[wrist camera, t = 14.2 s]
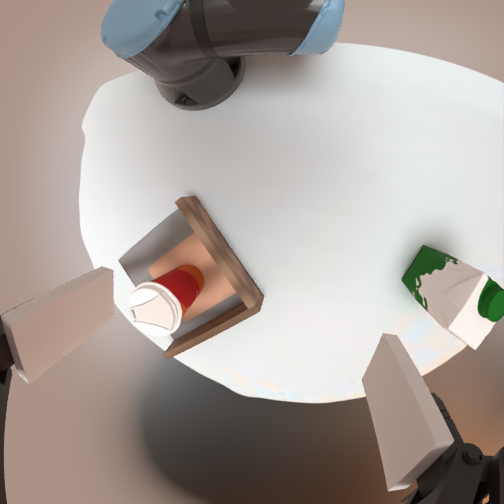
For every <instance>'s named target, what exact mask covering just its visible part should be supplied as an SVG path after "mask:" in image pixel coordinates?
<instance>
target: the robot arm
mask: <svg viewBox="0 0 504 504" xmlns="http://www.w3.org/2000/svg"><path fill="white" fill-rule="evenodd" d="M344 3H345V2H344V0H114V1H113V3H112V4H111V5H110V7H109V9H108V10H107V12H106V14H105V16H104V18H103V21H102V25H101V38H102V40H103V42H104V44H105V45H106V46H107V47H108V48H110V49H111V50H112V51H114V52H115V54H116V55H117V56H118V57H120V58H122V59H124V60H126V61H127V62H129V63H131V64H132V65H134V66H135V67H137V68H139V69H140V70H142V71H143V72H145V73H146V74H148V75H150V76H151V77H153V78H154V80H155V82H156V84H157V87H158V89H159V91H160V93H161V95H162V96H163V97H164V98H165V99H166V100H167V101H168V102H170V103H171V104H173V105H175V106H176V107H178V108H181V109H185V110H203V109H207V108H210V107H213V106H215V105H217V104H219V103H221V102H222V101H224V100H225V99H227V98H228V97H229V96H230V95H231V94H232V93H233V92H234V91H235V90H236V89H237V87H238V86H239V84H240V82H241V80H242V78H243V75H244V68H245V65H244V59H243V56H244V55H265V54H287V55H288V56H294V55H296V54H322V53H324V52H326V51H328V50H329V49H330V48H331V47H332V46H333V44H334V42H335V41H336V38H337V36H338V33H339V30H340V26H341V22H342V18H343V12H344ZM113 318H114V299H113V270H111V269H108V268H105V267H100V268H98V269H95V270H93V271H91V272H89V273H87V274H84V275H82V276H80V277H78V278H76V279H73V280H71V281H69V282H67V283H65V284H63V285H61V286H59V287H56V288H54V289H52V290H50V291H48V292H46V293H44V294H42V295H40V296H38V297H36V298H33V299H31V300H29V301H27V302H26V303H23V304H21V305H20V306H17V307H15V308H13V309H12V310H10V311H8V312H6V313H4V314H2V315H0V504H7V500H6V492H5V481H4V431H5V418H6V409H7V400H8V394H9V388H10V382H11V377H12V370H11V366H12V365H13V364H15V366H16V369H17V372H18V374H19V376H20V377H22V378H23V379H24V380H25V381H26V382H27V383H29V384H30V383H32V382H33V381H34V380H35V379H36V378H38V377H39V376H40V375H41V374H43V373H44V372H45V371H46V370H48V369H49V368H50V367H51V366H53V365H54V364H55V363H56V362H58V361H59V360H60V359H62V358H63V357H64V356H65V355H67V354H68V353H69V352H70V351H72V350H73V349H74V348H75V347H77V346H78V345H79V344H81V343H82V342H83V341H85V340H86V339H87V338H89V337H90V336H91V335H92V334H94V333H95V332H96V331H98V330H99V329H100V328H101V327H103V326H104V325H106V324H107V323H108V322H109V321H111V320H112V319H113ZM362 382H363V386H364V389H365V393H366V397H367V400H368V404H369V407H370V411H371V415H372V419H373V423H374V427H375V431H376V436H377V440H378V444H379V449H380V453H381V458H382V462H383V467H384V472H385V477H386V483H387V488H388V491H392V490H399V489H405V488H407V487H408V486H410V485H411V484H412V483H413V482H414V481H415V480H417V484H418V487H417V488H415V489H414V490H413V491H412V492H410V493H409V494H408V495H407V496H405V497H404V498H403V499H402V500H401V502H404V501H405V500H406V499H408V500H407V502H406V503H405V504H482V501H483V499H484V498H486V497H487V496H488V495H489V501H488V502H487V503H486V504H504V447H503V448H501V449H500V450H499V451H498V452H497V453H496V454H495V456H484V455H483V453H482V451H481V450H480V449H479V448H478V447H477V446H475V445H474V444H470V443H464V442H463V440H462V438H461V436H460V434H459V432H458V430H457V428H456V426H455V424H454V422H453V420H452V419H450V415H449V413H448V411H447V409H446V407H445V405H444V403H443V402H442V401H441V400H440V398H439V397H438V396H437V395H435V393H430V391H429V389H428V388H427V386H426V384H425V382H424V380H423V379H422V377H421V375H420V373H419V372H418V370H417V368H416V366H415V365H414V363H413V361H412V359H411V358H410V356H409V354H408V353H407V351H406V349H405V348H404V346H403V344H402V343H401V341H400V340H399V338H398V336H397V335H391V334H385V333H383V335H382V337H381V339H380V342H379V344H378V346H377V349H376V351H375V353H374V355H373V357H372V360H371V362H370V364H369V366H368V368H367V370H366V372H365V374H364V376H363V378H362Z"/></svg>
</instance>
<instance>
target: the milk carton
mask: <svg viewBox="0 0 504 504" xmlns="http://www.w3.org/2000/svg"><path fill="white" fill-rule="evenodd" d="M402 281H403V282H404V284H405V285H406V286H407V288H408V289H409V291H410V292H411V293H412V295H413V296H414V297H415V299H416V300H417V301H418V302H419V303H420V304H421V305H422V306H423V307H424V308H425V310H426V311H427V312H428V313H429V314H430V315H431V316H432V317H433V318H434V319H435V320H436V321H437V322H438V323H439V324H440V325H441V326H442V327H443V328H445V329H446V330H448V331H449V332H450V333H452V334H453V335H454V336H456V337H457V338H459V339H460V340H462V341H463V342H465V343H466V344H467V345H469V346H470V347H472V348H473V349H475V350H476V349H477V347H478V346H479V345H480V343H481V342H482V340H483V339H484V337H485V336H486V335H488V333H489V332H490V331H491V329H492V327H493V325H494V324H495V322H497V321H498V320H500V319H501V318H502V317H503V315H504V289H503V288H501V287H500V286H499V285H498V284H497V283H496V282H495V281H493V280H492V279H491V278H490V277H489V276H487V275H486V274H485V273H484V272H482V271H480V270H477V269H475V268H473V267H472V266H470V265H468V264H466V263H464V262H462V261H460V260H458V259H456V258H454V257H452V256H450V255H448V254H445V253H443V252H440V251H438V250H435V249H432V248H429V247H427V246H424V245H423V247H422V248H421V250H420V252H419V253H418V255H417V257H416V258H415V260H414V261H413V263H412V265H411V266H410V268H409V269H408V271H407V272H406V274H405V275H404V277H403V278H402Z"/></svg>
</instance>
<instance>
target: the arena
mask: <svg viewBox="0 0 504 504" xmlns="http://www.w3.org/2000/svg"><path fill="white" fill-rule="evenodd" d="M175 203H176V205H177V206H178V208H179V209H178V210H176V211H175V212H174V213H173V214H171V215H170V216H169V217H168V218H166V219H165V220H164V221H163V222H162V223H160V224H159V225H158V226H157V227H156V228H154V229H153V230H152V231H151V232H150V233H148V234H147V235H146V236H145V237H144V238H143V239H141V240H140V241H139V242H138V243H137V244H136V245H135V246H133V247H132V248H131V249H130V250H129V251H128V252H127V253H126V254H124V255H123V256H122V257H121V258H120V259H119V260H118V261H119V262H120V264H121V266H122V267H123V269H124V270H125V272H126V273H127V275H128V276H129V278H130V279H131V281H132V282H133V284H134V285H135V287H137V286H138V285H140V284H142V283H144V282H150V281H152V280H154V279H156V278H158V277H160V276H162V275H164V274H166V273H168V272H169V271H171V270H173V269H175V268H178V267H180V266H182V265H193V266H195V267H197V268H198V269H199V270H200V271H201V273H202V274H203V277H204V287H203V289H202V291H201V292H200V294H199V295H198V297H197V298H196V299H195V301H194V302H193V304H192V305H191V306H190V308H189V309H188V311H187V312H186V313H185V315H184V316H183V318H182V319H181V322H180V325H179V327H178V328H177V330H176V331H175V332H173V333H171V334H170V335H171V336H172V338H173V339H174V341H173V342H172V344H171V345H170V346H169V347H168V349H167V350H166V351H165V353H164V354H163V355H164V356H165V357H166V359H169V358H171V357H173V356H175V355H177V354H179V353H182V352H184V351H186V350H188V349H190V348H192V347H194V346H196V345H198V344H200V343H202V342H204V341H205V340H207V339H209V338H211V337H213V336H215V335H217V334H219V333H221V332H223V331H225V330H227V329H229V328H230V327H232V326H234V325H236V324H238V323H240V322H242V321H243V320H245V319H247V318H249V317H251V316H253V315H254V314H256V313H258V312H260V309H261V306H262V302H263V299H264V295H263V294H262V293H261V291H260V290H259V288H258V287H257V285H256V284H255V282H254V281H253V280H252V278H251V277H250V275H249V274H248V272H247V271H246V270H245V268H244V267H243V265H242V264H241V262H240V261H239V259H238V258H237V256H236V255H235V254H234V252H233V251H232V249H231V248H230V246H229V245H228V243H227V242H226V240H225V239H224V237H223V236H222V235H221V233H220V232H219V230H218V229H217V227H216V226H215V224H214V223H213V221H212V220H211V218H210V217H209V215H208V214H207V212H206V211H205V209H204V208H203V206H202V205H201V204H200V202H199V201H198V199H197V198H196V196H192V197H181V198H180V199H178V200H177V201H176V202H175Z"/></svg>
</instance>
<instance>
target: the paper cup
mask: <svg viewBox="0 0 504 504" xmlns="http://www.w3.org/2000/svg"><path fill="white" fill-rule="evenodd" d="M203 287H204V277H203V274H202V273H201V271H200V270H199V269H198V268H197V267H195V266H193V265H182V266H180V267H178V268H175V269H173V270H171V271H169V272H168V273H166V274H164V275H162V276H160V277H158V278H156V279H154V280H152V281H150V282H144V283H142V284H140V285H138V286H137V287H136V288H135V289H134V291H133V293H132V295H131V298H130V301H129V307H130V309H131V310H130V312H131V315H132V318H134V320H135V321H134V323H135V324H136V325H137V326H138V328H140V329H141V330H142V331H143V332H145V333H147V334H149V335H151V336H158V337H159V336H164V335H169V334H171V333H173V332H175V331H176V330H177V328H178V327H179V325H180V322H181V319H182V318H183V316H184V315H185V313H186V312H187V311H188V309H189V308H190V306H191V305H192V304H193V302H194V301H195V299H196V298H197V297H198V295H199V294H200V292H201V291H202V289H203Z"/></svg>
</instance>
